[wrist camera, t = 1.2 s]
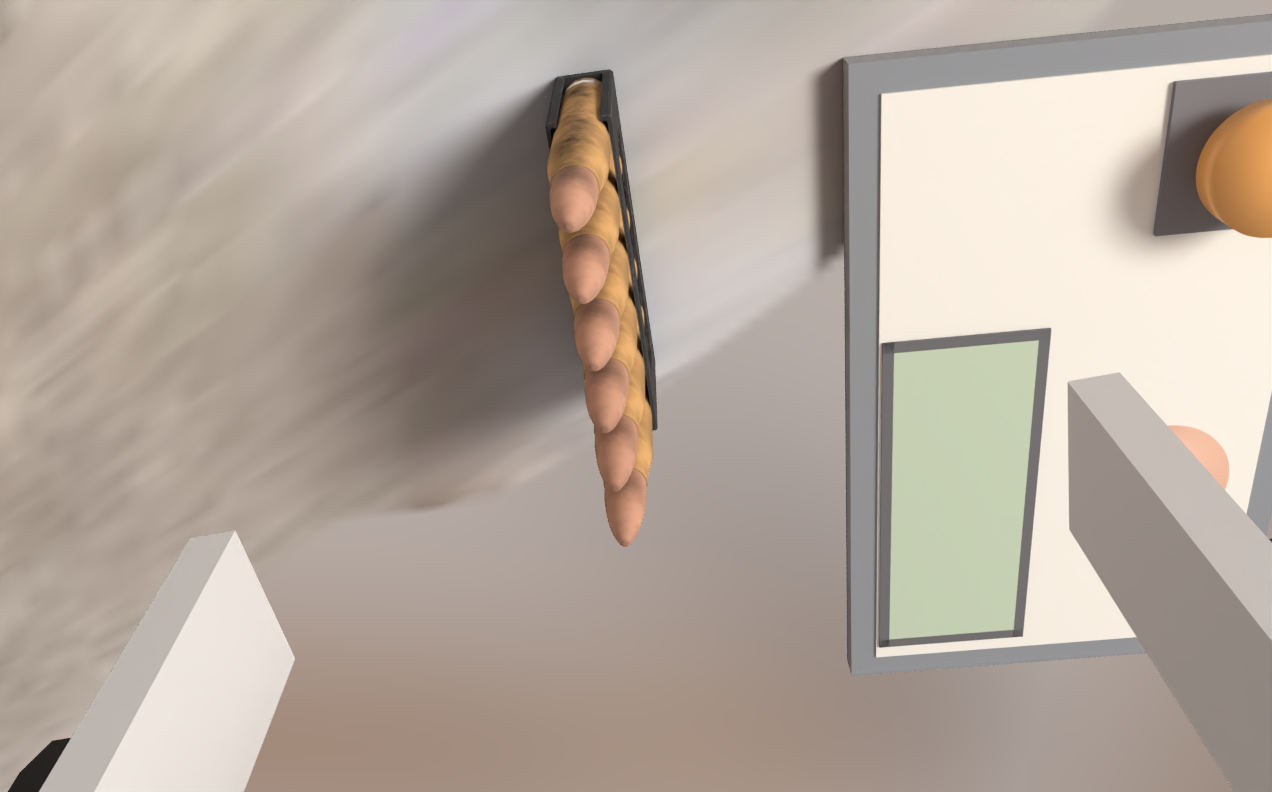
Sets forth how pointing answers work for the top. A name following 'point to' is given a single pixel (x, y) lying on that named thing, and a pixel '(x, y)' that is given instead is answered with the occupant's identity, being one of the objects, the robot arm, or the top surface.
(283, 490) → the top surface
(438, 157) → the top surface
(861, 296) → the board
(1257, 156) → the button
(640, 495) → the ammunition clip
